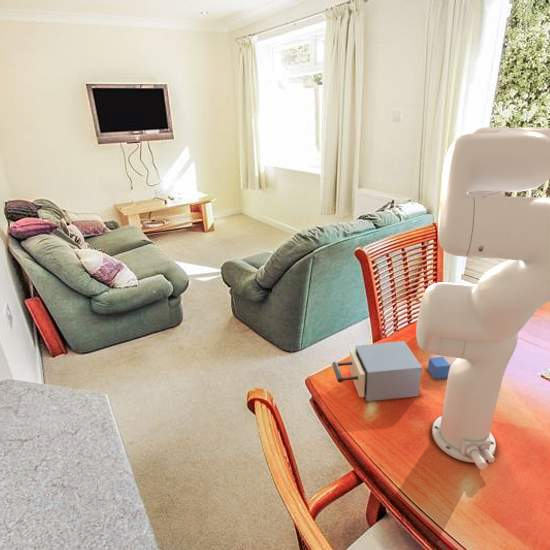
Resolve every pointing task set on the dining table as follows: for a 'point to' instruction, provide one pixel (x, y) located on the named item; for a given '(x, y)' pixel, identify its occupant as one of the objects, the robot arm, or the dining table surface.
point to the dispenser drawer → (353, 373)
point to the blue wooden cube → (438, 367)
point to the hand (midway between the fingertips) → (472, 253)
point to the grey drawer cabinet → (390, 370)
